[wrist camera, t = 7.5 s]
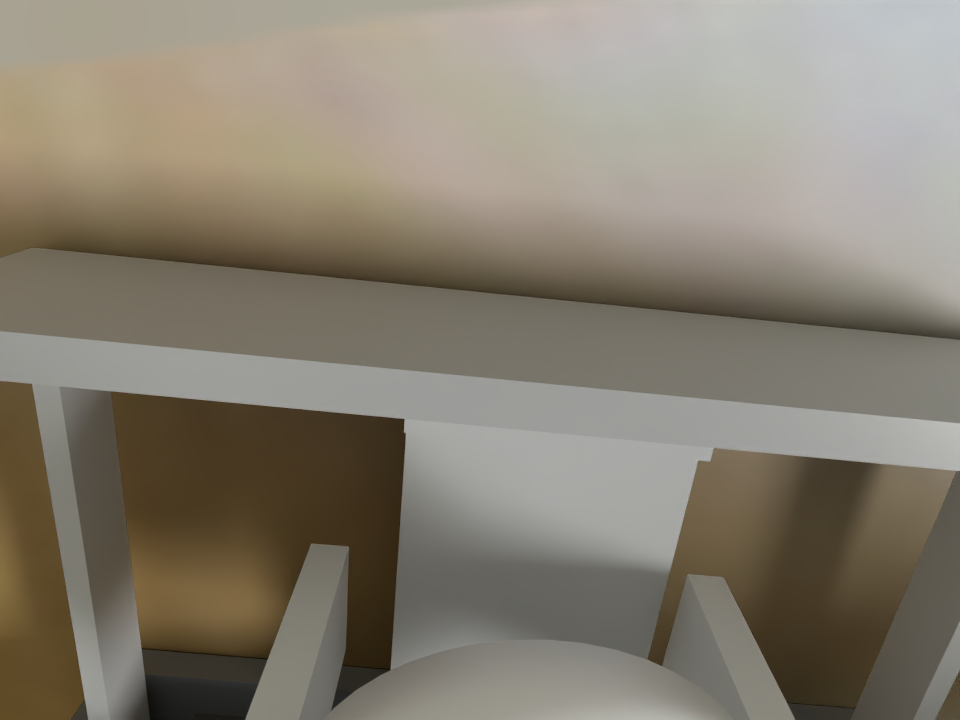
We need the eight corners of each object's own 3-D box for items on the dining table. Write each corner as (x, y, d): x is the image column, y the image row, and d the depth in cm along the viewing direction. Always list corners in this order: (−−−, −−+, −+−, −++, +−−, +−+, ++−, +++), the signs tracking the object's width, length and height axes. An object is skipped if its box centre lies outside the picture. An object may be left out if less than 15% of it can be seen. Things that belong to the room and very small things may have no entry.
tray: (33, 247, 14) (-176, 314, 9) (1055, 349, 14) (1299, 456, 10) (117, 801, 20) (17, 991, 16) (824, 855, 21) (913, 1054, 16)
